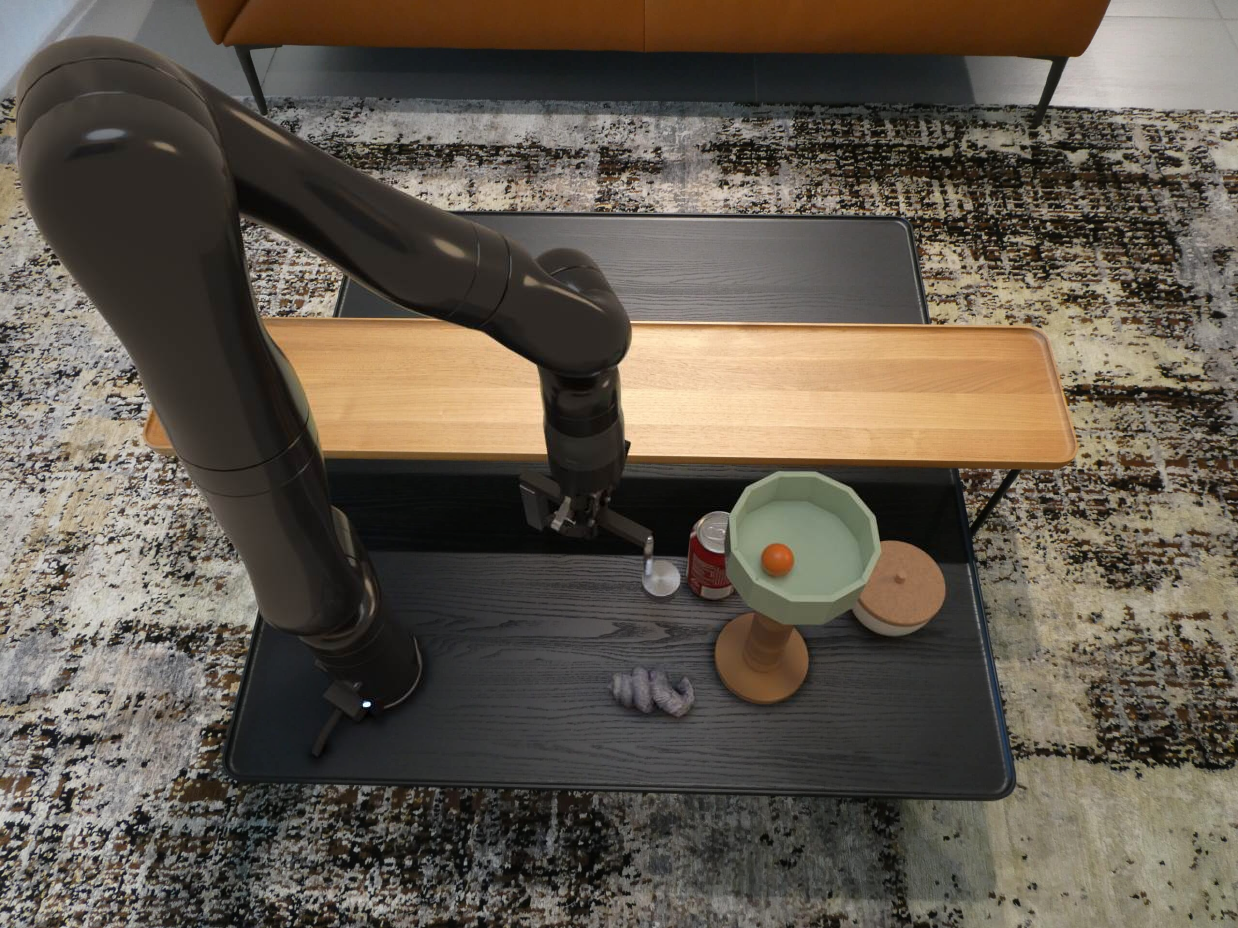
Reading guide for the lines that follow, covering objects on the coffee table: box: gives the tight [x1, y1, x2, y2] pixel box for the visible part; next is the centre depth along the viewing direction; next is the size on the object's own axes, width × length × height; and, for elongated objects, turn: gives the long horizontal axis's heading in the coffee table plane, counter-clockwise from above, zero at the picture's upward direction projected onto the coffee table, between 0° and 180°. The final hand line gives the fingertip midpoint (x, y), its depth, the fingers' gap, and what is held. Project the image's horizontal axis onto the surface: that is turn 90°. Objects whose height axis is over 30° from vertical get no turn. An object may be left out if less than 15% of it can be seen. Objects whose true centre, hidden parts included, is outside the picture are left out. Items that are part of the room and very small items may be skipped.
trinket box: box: [850, 540, 946, 637], centre depth 100 cm, size 11×11×9 cm
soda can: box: [685, 510, 737, 601], centre depth 102 cm, size 7×7×12 cm
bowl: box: [724, 470, 882, 626], centre depth 77 cm, size 13×13×5 cm
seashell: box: [607, 664, 695, 718], centre depth 96 cm, size 5×5×10 cm
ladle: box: [518, 467, 682, 604], centre depth 94 cm, size 20×4×10 cm, turn 59°
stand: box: [714, 610, 810, 705], centre depth 90 cm, size 11×11×26 cm
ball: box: [761, 543, 794, 576], centre depth 77 cm, size 3×3×3 cm
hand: (592, 526), depth 93 cm, fingers closed on ladle
